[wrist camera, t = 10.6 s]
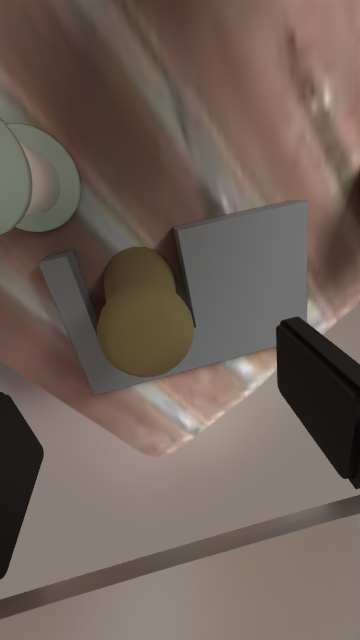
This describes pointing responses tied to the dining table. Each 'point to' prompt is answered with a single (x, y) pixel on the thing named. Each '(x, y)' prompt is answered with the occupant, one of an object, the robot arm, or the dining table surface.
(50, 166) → the bobbin post
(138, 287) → the cork
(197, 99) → the dining table surface
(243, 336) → the gray block
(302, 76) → the dining table surface
